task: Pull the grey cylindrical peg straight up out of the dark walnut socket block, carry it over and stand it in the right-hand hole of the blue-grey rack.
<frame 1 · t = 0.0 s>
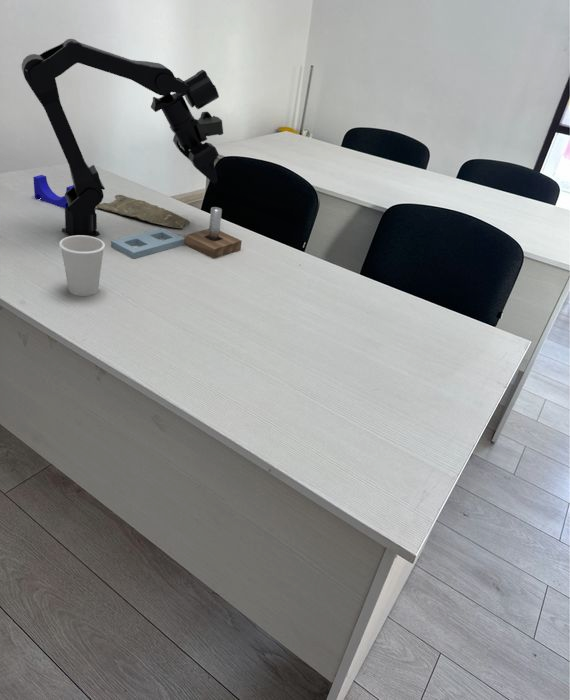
hand: (209, 176, 146), 15 cm above the table, tool tilted 35°, fingers open, 9 cm apart
socket block: (212, 247, 146), on the table
rack: (148, 245, 141), on the table
stone tool: (145, 217, 158), on the table
grey cylindrical peg: (214, 228, 143), in the socket block
dixie cup: (83, 290, 117), on the table
blue semicircular cradle block: (59, 203, 155), on the table
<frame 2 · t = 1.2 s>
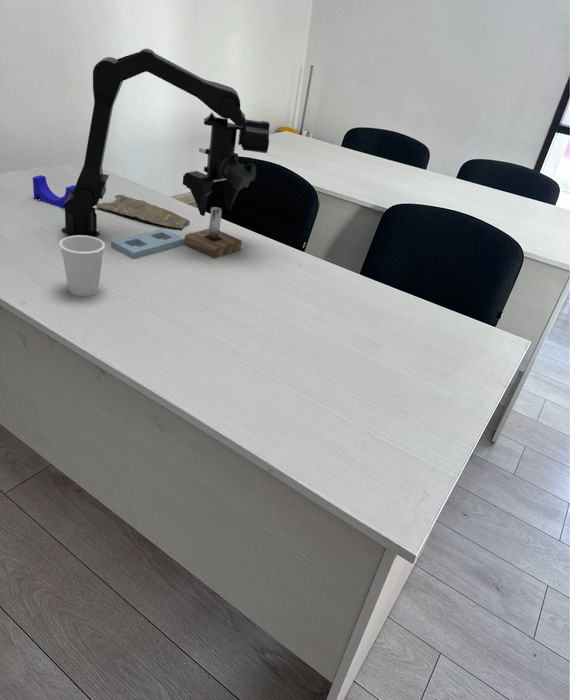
hand: (215, 212, 141), 9 cm above the table, tool pointing down, fingers open, 9 cm apart
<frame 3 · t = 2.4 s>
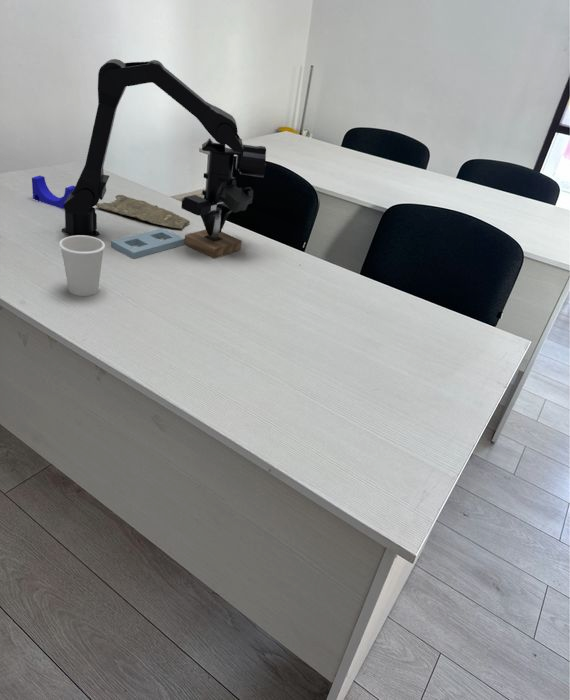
hand: (213, 234, 144), 4 cm above the table, tool pointing down, fingers closed on grey cylindrical peg, 3 cm apart
grey cylindrical peg: (214, 228, 143), in the socket block, touching gripper
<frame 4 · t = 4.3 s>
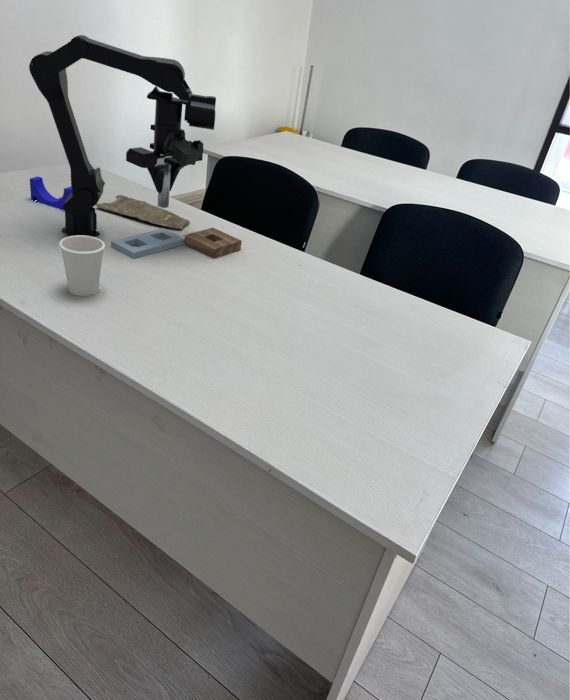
hand: (163, 191, 137), 13 cm above the table, tool pointing down, fingers closed on grey cylindrical peg, 3 cm apart
grey cylindrical peg: (164, 185, 136), point 14 cm above the table, touching gripper
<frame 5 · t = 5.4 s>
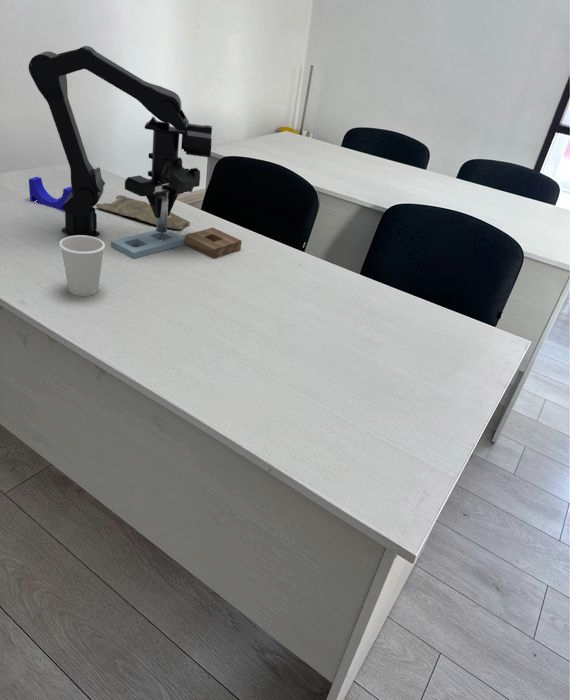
hand: (161, 216, 140), 7 cm above the table, tool pointing down, fingers closed on grey cylindrical peg, 3 cm apart
grey cylindrical peg: (162, 210, 139), point 8 cm above the table, touching gripper
when the fingers open (5 cm above the table, at t = 6.0 s): grey cylindrical peg drops 1 cm, resting in rack.
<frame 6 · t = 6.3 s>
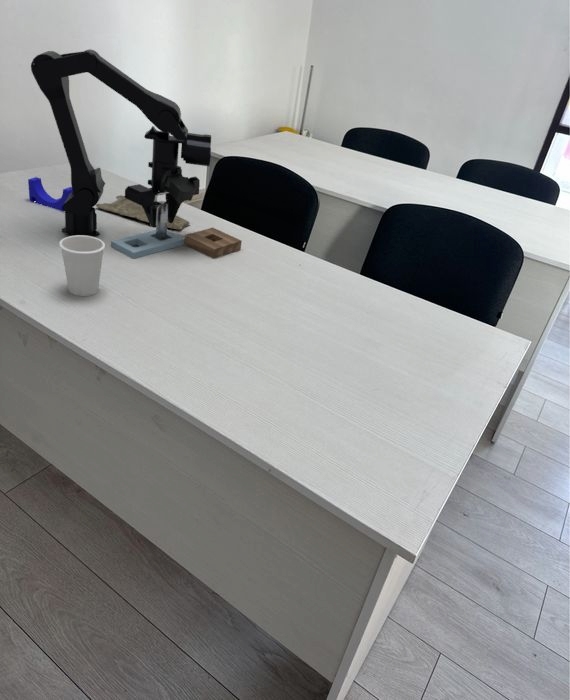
hand: (161, 224, 141), 4 cm above the table, tool pointing down, fingers open, 5 cm apart
grey cylindrical peg: (161, 223, 141), in the rack
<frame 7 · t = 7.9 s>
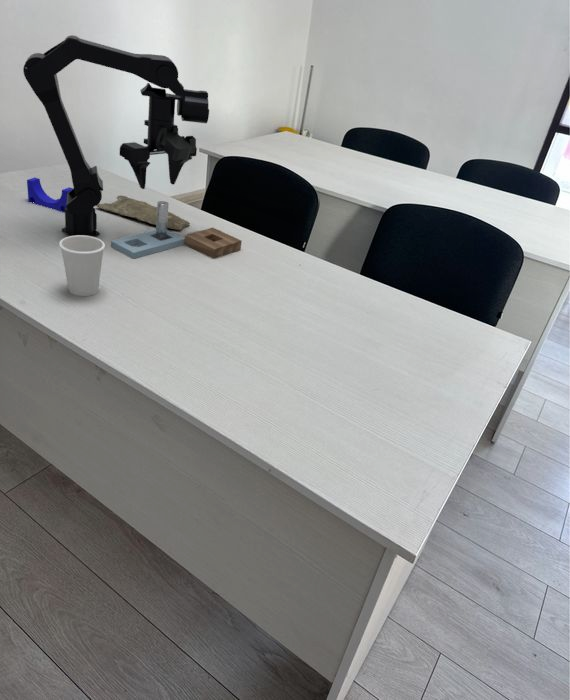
hand: (157, 186, 139), 13 cm above the table, tool pointing down, fingers open, 9 cm apart
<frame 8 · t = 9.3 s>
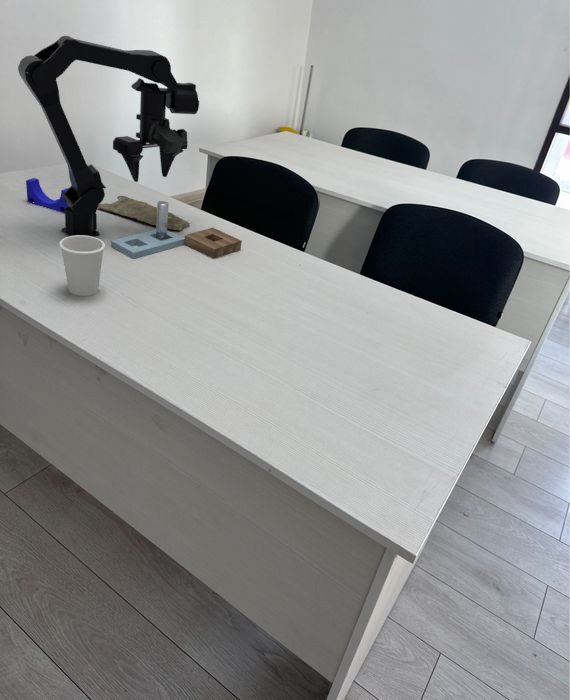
hand: (150, 179, 143), 13 cm above the table, tool pointing down, fingers open, 9 cm apart
at the end: grey cylindrical peg 0.0 cm from the target spot on the rack, point 5.0 cm above the rack's base; grey cylindrical peg tilted 0°; the gripper is holding nothing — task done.
